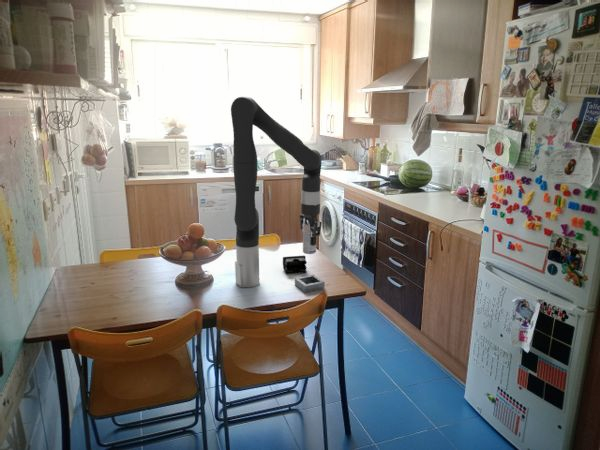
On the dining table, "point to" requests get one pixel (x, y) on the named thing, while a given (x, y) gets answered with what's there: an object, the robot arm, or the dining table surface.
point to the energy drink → (307, 241)
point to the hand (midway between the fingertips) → (309, 242)
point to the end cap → (294, 264)
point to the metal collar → (306, 287)
